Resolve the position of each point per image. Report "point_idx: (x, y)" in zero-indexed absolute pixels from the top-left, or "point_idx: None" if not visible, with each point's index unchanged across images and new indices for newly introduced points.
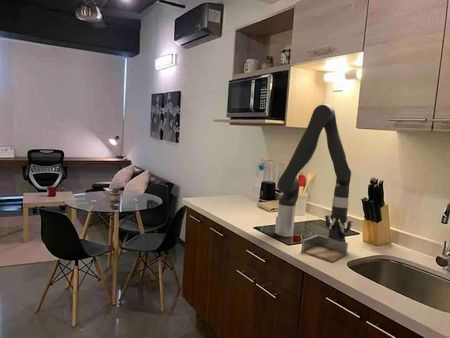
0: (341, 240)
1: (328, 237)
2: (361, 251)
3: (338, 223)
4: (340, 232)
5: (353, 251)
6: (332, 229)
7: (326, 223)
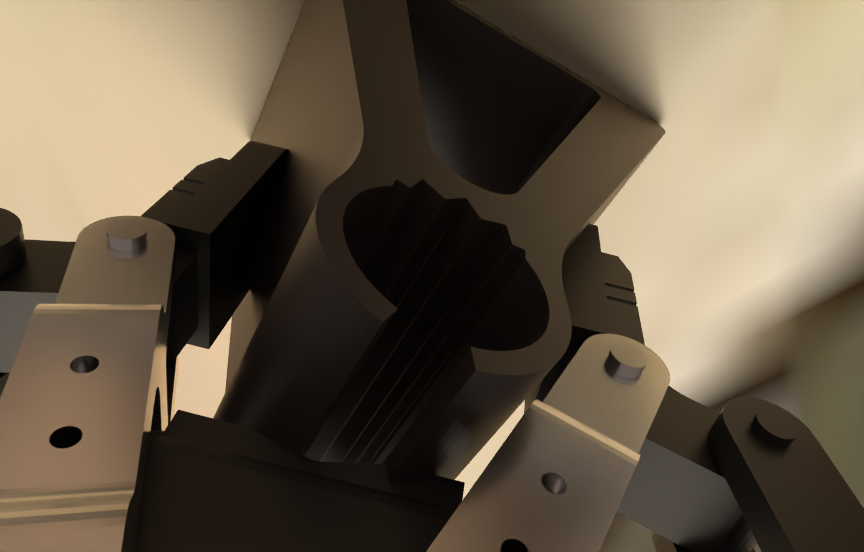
0: (281, 147)
1: (616, 160)
2: (48, 193)
3: (224, 503)
4: (273, 288)
5: (123, 102)
6: (508, 235)
7: (846, 524)
